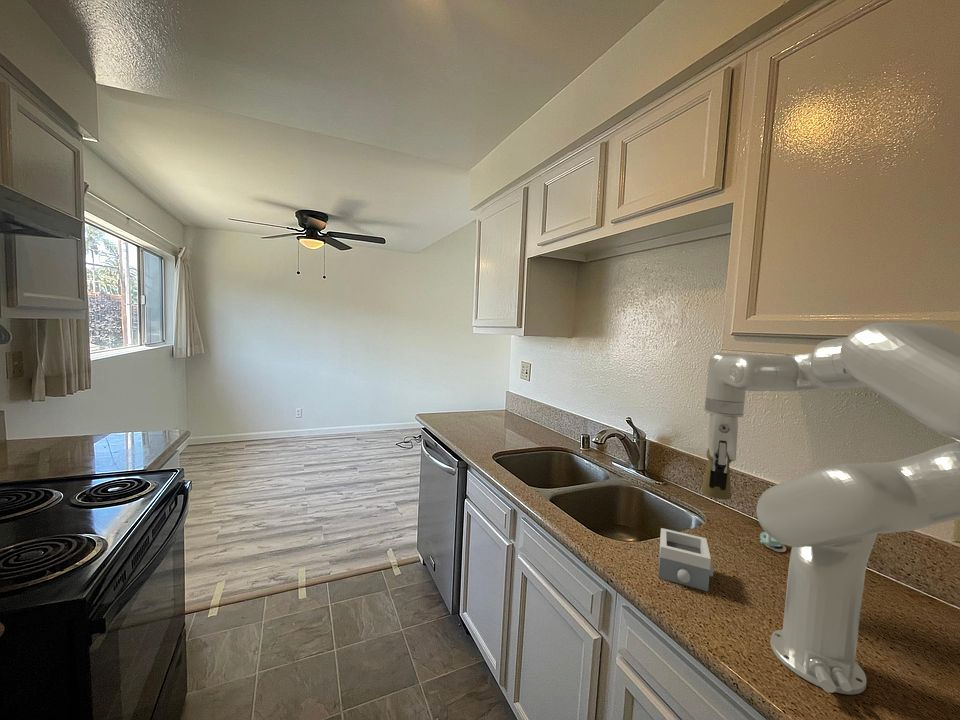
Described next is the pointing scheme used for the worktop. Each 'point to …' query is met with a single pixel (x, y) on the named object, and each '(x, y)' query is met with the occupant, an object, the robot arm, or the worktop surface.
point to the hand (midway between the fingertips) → (716, 484)
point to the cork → (716, 491)
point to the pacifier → (771, 542)
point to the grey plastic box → (684, 559)
